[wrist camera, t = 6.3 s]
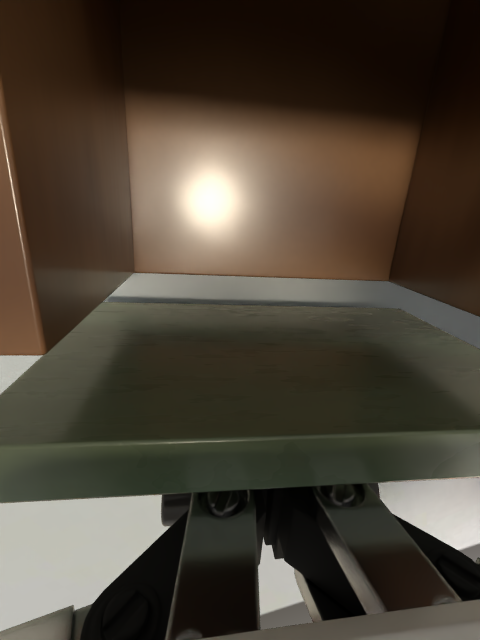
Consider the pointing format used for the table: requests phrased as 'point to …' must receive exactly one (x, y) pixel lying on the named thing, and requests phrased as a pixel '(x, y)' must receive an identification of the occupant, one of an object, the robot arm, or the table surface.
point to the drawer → (235, 243)
